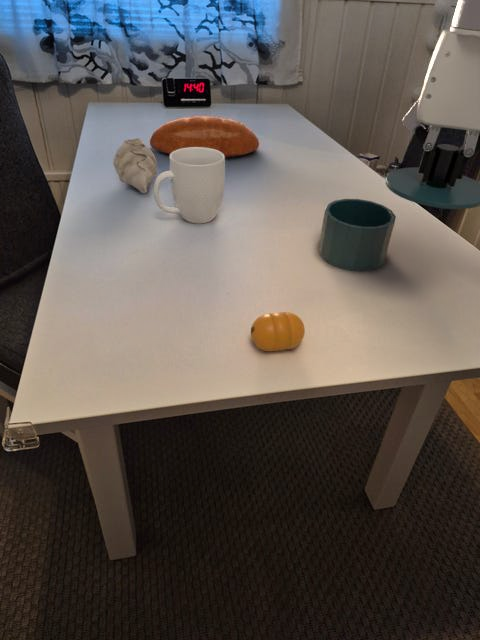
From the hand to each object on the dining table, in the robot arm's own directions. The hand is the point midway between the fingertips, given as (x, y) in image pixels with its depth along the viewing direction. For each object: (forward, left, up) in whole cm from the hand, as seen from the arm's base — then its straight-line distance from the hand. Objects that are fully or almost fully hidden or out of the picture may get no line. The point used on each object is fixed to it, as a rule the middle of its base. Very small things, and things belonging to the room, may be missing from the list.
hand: (437, 179), depth 61 cm
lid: (0, 0, -1) cm, 1 cm away
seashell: (+64, -26, -21) cm, 72 cm away
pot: (+10, -13, -21) cm, 26 cm away
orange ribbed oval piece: (+16, +18, -21) cm, 32 cm away
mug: (+44, -15, -21) cm, 51 cm away
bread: (+60, -58, -21) cm, 86 cm away
